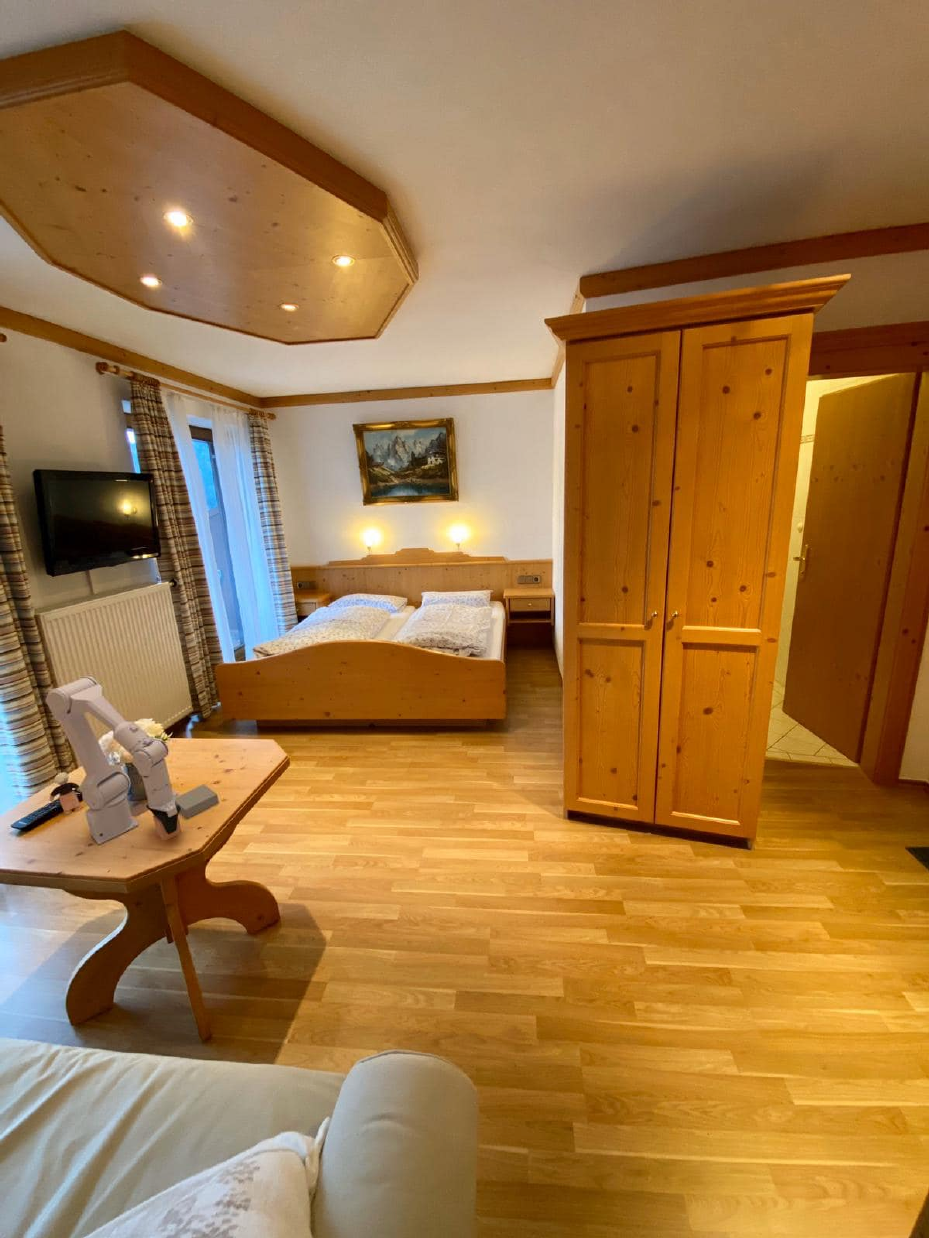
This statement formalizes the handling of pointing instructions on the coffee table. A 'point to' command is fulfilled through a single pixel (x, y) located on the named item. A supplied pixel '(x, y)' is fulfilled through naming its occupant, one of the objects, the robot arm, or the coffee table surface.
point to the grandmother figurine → (66, 793)
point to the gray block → (196, 801)
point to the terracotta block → (162, 831)
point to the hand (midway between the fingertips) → (168, 828)
